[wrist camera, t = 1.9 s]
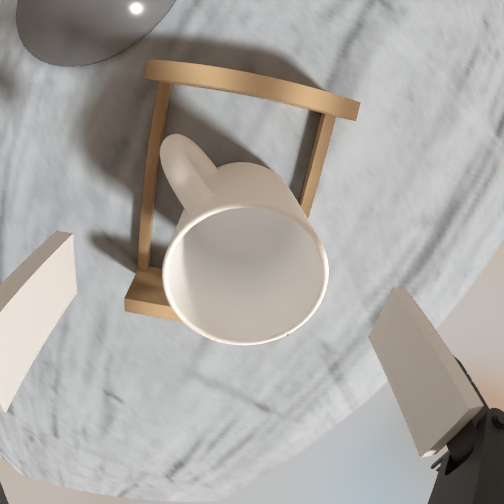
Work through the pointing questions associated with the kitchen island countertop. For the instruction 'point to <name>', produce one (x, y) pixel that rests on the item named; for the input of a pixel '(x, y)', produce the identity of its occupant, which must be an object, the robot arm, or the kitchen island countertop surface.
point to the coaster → (85, 27)
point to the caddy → (166, 73)
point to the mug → (238, 250)
